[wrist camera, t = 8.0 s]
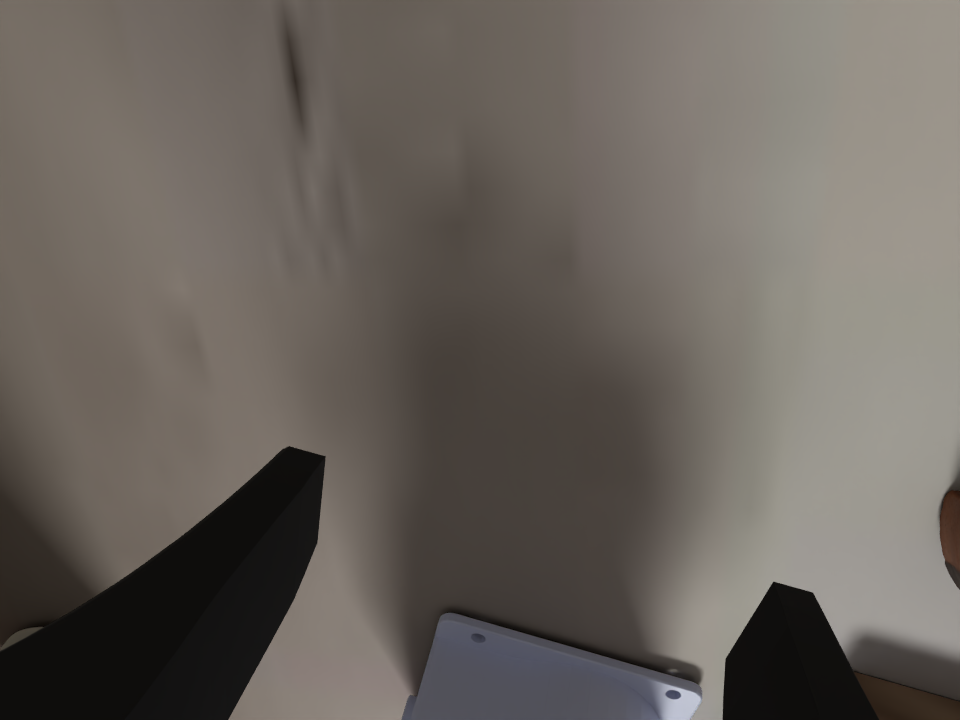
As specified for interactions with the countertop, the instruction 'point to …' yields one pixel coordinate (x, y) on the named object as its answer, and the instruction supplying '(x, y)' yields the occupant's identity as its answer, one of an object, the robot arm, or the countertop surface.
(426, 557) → the countertop surface
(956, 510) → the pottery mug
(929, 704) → the bar
